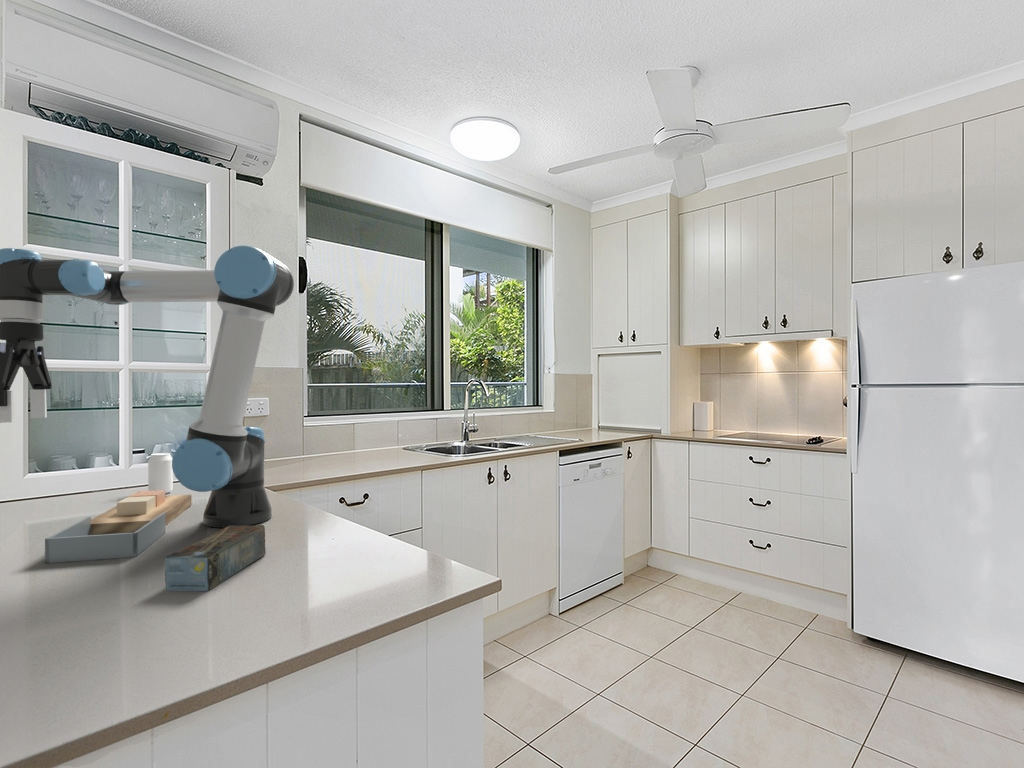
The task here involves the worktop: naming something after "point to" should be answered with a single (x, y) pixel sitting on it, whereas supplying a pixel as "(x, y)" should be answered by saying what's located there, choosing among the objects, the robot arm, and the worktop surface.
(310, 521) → the worktop surface
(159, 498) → the terracotta tile
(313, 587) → the worktop surface
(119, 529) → the oak board
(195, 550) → the beverage carton
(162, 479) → the beverage can
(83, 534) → the tray
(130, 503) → the sand tile
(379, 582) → the worktop surface
